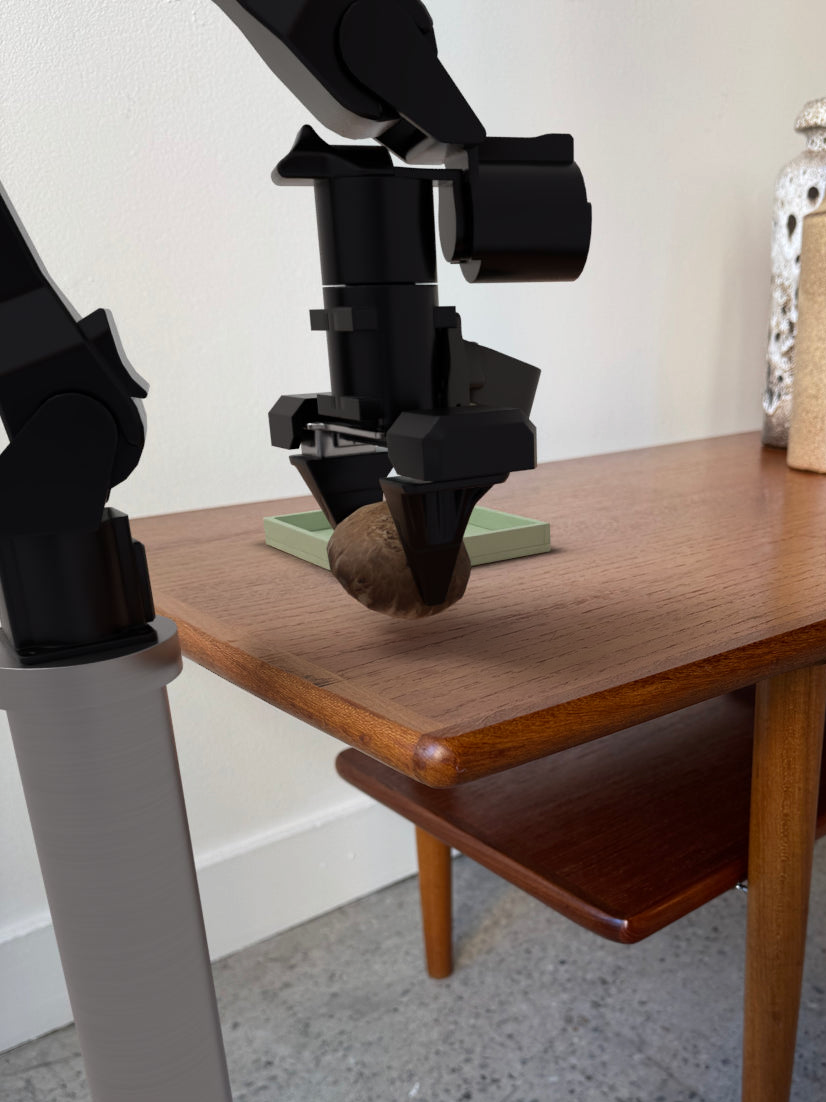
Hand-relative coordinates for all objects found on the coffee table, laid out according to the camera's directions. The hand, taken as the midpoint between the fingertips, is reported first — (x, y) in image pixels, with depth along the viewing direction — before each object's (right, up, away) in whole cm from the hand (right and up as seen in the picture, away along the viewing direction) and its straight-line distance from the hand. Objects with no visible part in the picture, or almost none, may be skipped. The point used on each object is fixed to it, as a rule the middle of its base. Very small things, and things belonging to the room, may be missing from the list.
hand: (401, 591), depth 57 cm
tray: (-2, +6, +22) cm, 23 cm away
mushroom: (0, -1, 0) cm, 1 cm away
